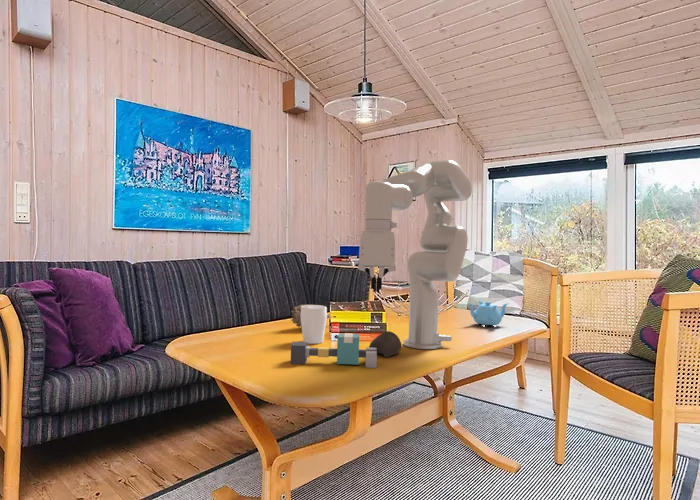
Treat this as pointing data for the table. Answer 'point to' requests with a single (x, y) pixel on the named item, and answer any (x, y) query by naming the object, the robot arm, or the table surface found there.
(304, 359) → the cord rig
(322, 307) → the cup
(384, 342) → the stone
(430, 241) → the robot arm
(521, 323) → the table surface
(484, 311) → the teapot
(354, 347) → the sleeve
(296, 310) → the pine cone
